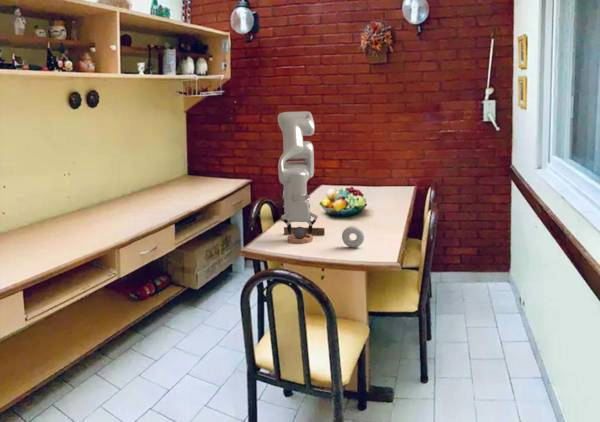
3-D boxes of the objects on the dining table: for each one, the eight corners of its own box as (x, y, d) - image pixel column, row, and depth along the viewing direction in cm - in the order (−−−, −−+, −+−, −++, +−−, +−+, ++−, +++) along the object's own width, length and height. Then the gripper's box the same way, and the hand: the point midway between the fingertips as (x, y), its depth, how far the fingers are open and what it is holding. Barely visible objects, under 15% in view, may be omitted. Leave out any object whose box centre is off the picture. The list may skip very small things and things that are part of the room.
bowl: (290, 236, 270) (290, 233, 270) (314, 237, 268) (314, 233, 267) (285, 243, 259) (285, 239, 259) (310, 244, 257) (309, 240, 256)
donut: (341, 248, 249) (341, 226, 247) (342, 246, 252) (342, 224, 250) (363, 249, 247) (363, 227, 245) (364, 246, 250) (364, 225, 248)
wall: (284, 233, 275) (284, 227, 275) (324, 234, 272) (324, 227, 271) (284, 234, 274) (283, 227, 274) (324, 235, 270) (324, 228, 270)
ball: (295, 237, 267) (294, 225, 265) (307, 237, 266) (307, 225, 264) (292, 240, 261) (292, 228, 260) (305, 241, 260) (304, 228, 258)
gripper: (318, 196, 261) (319, 231, 264) (282, 195, 264) (283, 230, 268) (315, 199, 253) (316, 235, 257) (278, 199, 257) (280, 234, 261)
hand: (300, 233), depth 263 cm, fingers open, 9 cm apart
